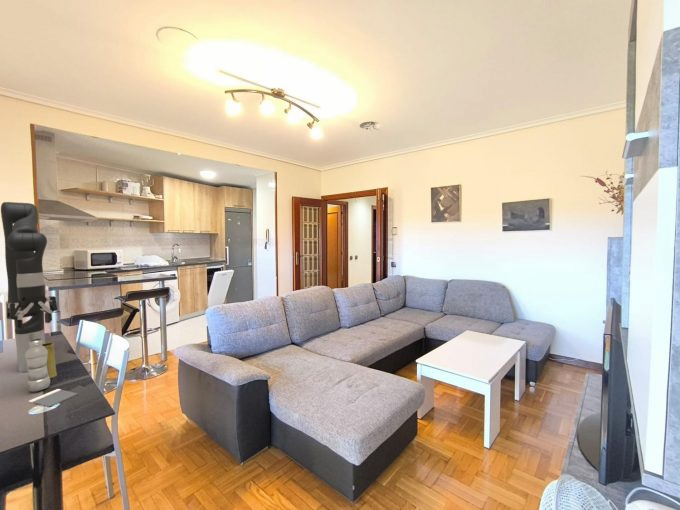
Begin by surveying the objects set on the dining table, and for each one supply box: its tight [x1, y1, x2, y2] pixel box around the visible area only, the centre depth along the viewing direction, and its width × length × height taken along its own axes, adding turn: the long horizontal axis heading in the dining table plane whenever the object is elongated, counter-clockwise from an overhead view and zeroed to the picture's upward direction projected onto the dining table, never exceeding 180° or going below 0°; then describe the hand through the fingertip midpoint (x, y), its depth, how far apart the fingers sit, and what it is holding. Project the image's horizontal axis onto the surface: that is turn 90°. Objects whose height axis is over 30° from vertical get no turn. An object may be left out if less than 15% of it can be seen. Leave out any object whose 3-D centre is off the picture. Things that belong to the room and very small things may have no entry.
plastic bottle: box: [25, 339, 51, 393], centre depth 119 cm, size 6×7×20 cm
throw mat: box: [28, 388, 79, 408], centre depth 113 cm, size 12×9×1 cm
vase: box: [42, 342, 58, 379], centre depth 130 cm, size 6×6×14 cm
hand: (34, 325), depth 118 cm, fingers open, 8 cm apart
